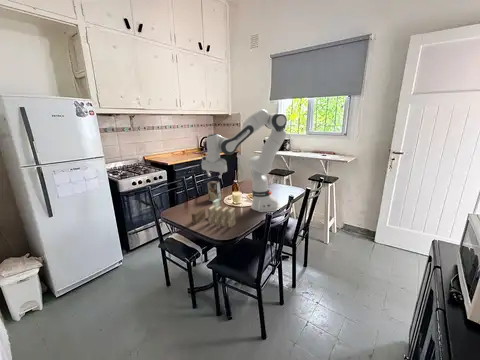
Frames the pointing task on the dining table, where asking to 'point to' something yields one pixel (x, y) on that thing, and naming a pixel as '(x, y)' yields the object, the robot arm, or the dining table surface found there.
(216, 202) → the sage domino
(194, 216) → the end stop
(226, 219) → the maple domino
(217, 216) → the maple domino
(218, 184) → the coffee box
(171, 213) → the dining table surface
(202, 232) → the dining table surface
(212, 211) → the maple domino
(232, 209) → the maple domino
